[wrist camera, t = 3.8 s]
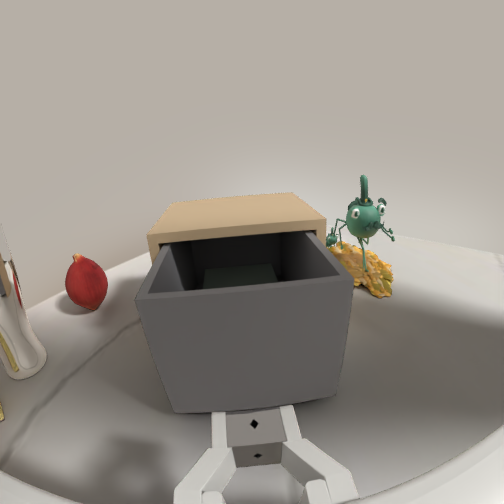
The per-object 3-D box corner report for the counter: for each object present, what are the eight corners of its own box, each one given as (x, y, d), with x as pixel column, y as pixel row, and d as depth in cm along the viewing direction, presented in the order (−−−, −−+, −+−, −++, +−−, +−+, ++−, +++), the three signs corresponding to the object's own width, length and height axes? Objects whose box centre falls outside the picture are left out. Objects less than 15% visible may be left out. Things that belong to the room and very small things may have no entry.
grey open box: (335, 395, 19) (354, 278, 15) (174, 413, 18) (134, 299, 14) (285, 277, 37) (283, 202, 33) (193, 285, 36) (182, 210, 33)
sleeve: (319, 340, 26) (326, 218, 22) (174, 354, 25) (146, 234, 21) (293, 283, 38) (292, 192, 33) (186, 293, 37) (172, 202, 32)
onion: (95, 295, 37) (81, 243, 34) (122, 302, 35) (107, 245, 32) (68, 314, 32) (49, 260, 29) (93, 325, 30) (73, 264, 27)
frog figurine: (357, 245, 49) (366, 163, 42) (411, 305, 33) (438, 198, 26) (307, 249, 48) (311, 162, 41) (350, 318, 32) (370, 198, 26)
